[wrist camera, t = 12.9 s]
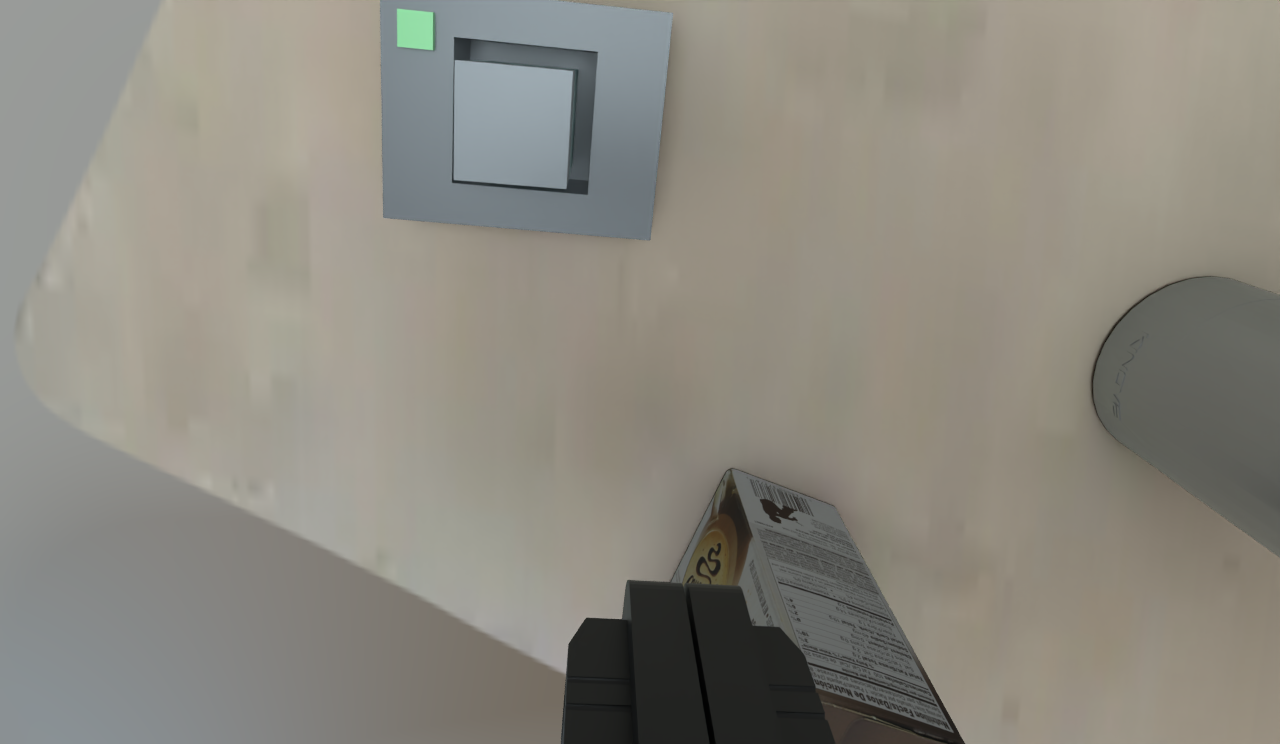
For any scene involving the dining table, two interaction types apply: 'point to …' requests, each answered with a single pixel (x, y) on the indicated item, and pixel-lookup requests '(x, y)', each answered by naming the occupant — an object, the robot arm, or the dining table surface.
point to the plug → (514, 123)
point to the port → (533, 35)
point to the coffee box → (819, 608)
